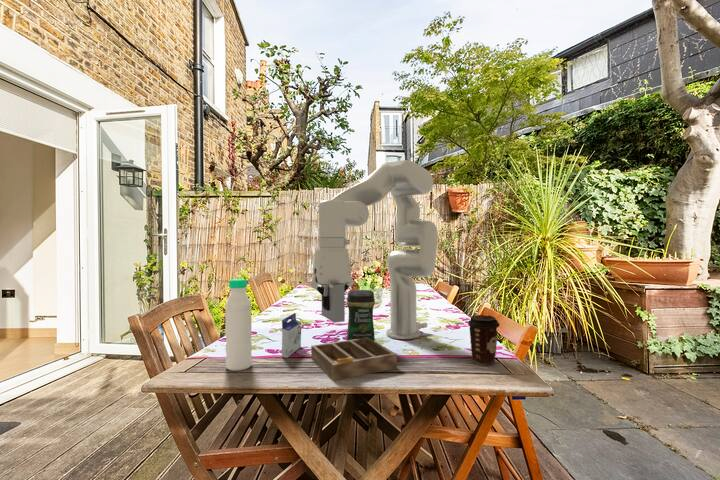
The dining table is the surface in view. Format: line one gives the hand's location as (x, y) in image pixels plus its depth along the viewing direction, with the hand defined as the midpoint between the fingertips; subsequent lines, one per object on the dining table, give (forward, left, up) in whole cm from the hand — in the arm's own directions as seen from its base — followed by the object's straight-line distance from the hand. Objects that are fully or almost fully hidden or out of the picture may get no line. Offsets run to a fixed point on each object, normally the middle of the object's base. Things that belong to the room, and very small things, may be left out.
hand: (332, 308), depth 102 cm
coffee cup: (-41, +16, -17) cm, 47 cm away
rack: (-6, 0, -17) cm, 18 cm away
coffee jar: (-16, -15, -17) cm, 28 cm away
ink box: (+7, -18, -17) cm, 26 cm away
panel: (0, 0, -3) cm, 3 cm away
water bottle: (+24, -12, -17) cm, 32 cm away
